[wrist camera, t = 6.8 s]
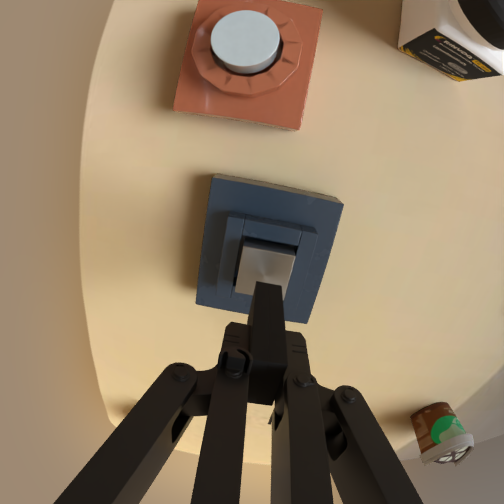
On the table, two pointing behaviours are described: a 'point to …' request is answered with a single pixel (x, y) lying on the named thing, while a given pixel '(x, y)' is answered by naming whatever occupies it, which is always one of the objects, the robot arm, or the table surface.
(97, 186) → the table surface
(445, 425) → the food container
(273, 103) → the orange button base
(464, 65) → the medicine bottle
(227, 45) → the white round push button
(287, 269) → the pump square
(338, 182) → the table surface
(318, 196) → the push button base
